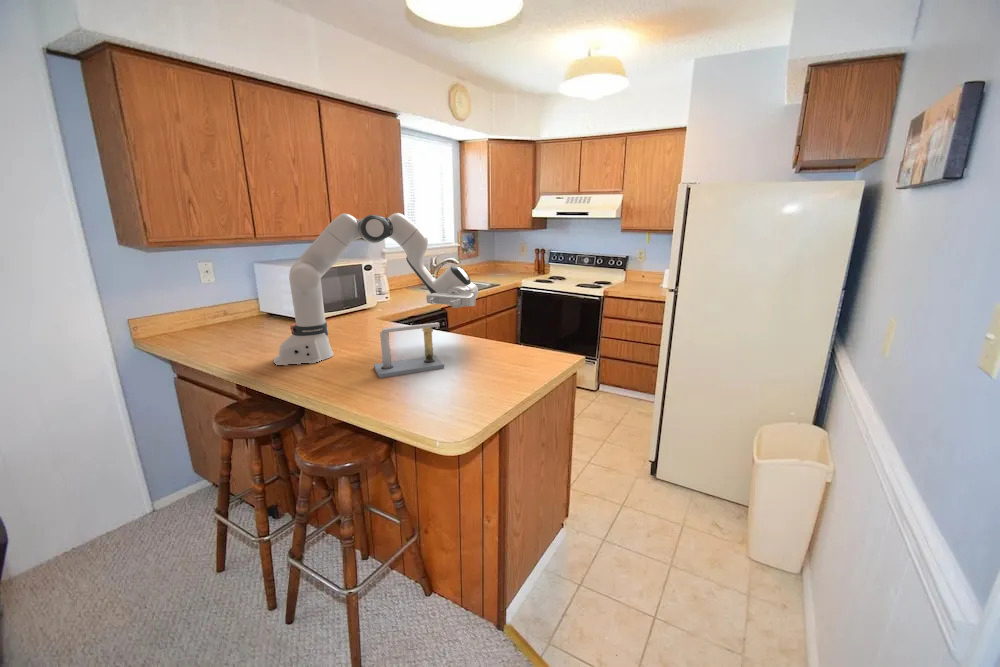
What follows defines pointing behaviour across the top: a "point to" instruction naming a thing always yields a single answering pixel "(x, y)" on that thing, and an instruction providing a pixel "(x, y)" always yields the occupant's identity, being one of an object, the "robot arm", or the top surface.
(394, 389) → the top surface
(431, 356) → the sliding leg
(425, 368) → the bolt plate
